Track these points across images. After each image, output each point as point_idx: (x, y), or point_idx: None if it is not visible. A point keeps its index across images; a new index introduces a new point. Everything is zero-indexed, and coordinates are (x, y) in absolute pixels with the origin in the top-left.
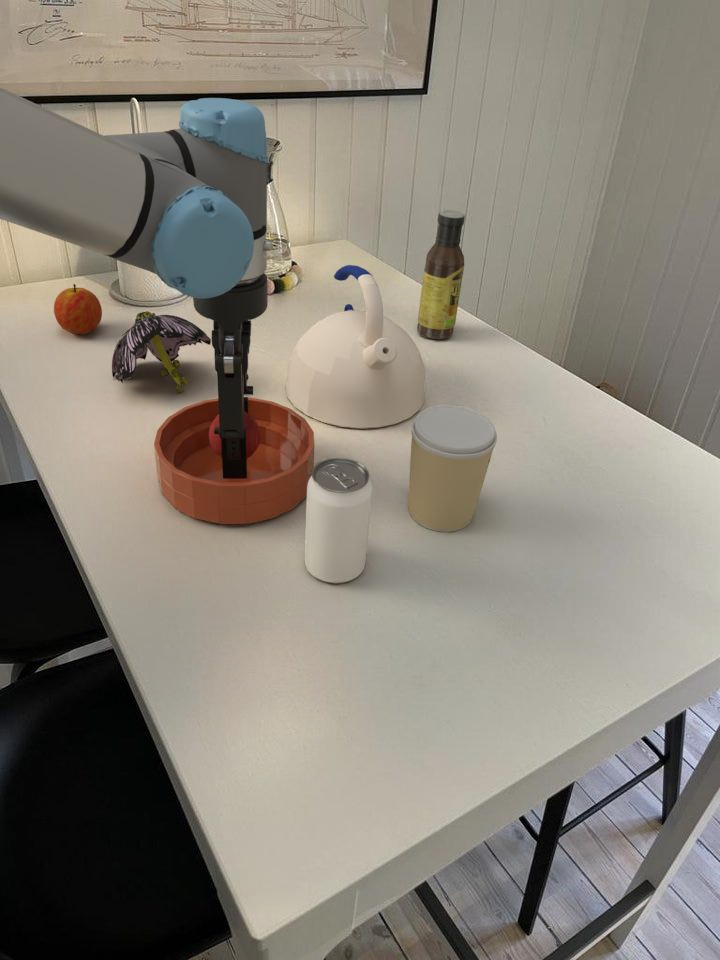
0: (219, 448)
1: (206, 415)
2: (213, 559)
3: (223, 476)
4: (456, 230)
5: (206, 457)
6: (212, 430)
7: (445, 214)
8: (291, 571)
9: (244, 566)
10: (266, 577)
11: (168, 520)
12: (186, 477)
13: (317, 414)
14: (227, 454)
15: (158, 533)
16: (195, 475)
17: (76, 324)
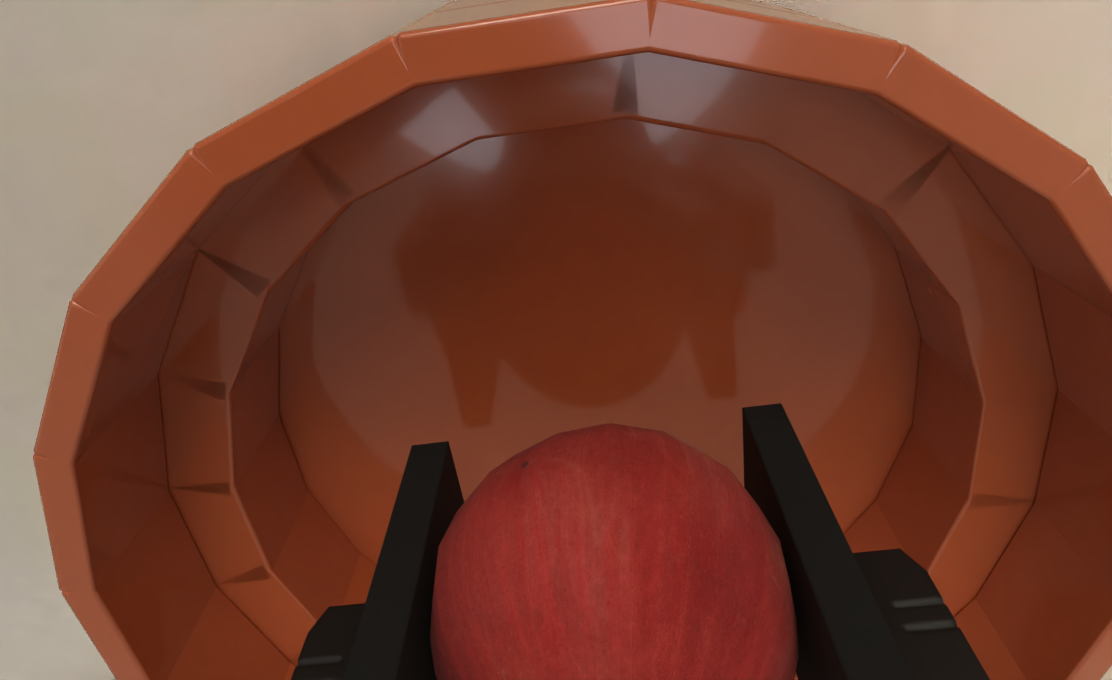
0: (439, 549)
1: (1059, 277)
2: (5, 407)
3: (409, 456)
4: None
5: (746, 240)
6: (525, 567)
7: None
8: (81, 645)
9: (27, 515)
10: (11, 585)
11: (170, 147)
12: (43, 412)
13: (1108, 675)
14: (301, 652)
15: (49, 121)
16: (560, 216)
17: None
